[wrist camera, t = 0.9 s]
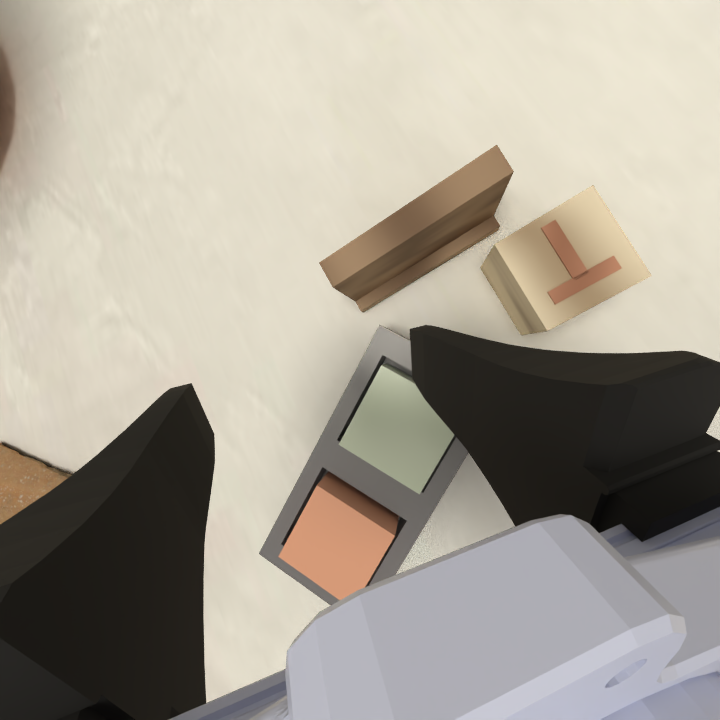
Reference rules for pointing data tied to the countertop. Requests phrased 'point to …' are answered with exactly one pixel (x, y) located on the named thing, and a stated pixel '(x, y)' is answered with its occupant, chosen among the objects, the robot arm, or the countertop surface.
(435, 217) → the screen
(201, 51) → the countertop surface
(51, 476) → the stone
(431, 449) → the cap sage
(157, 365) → the countertop surface
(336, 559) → the cap terracotta
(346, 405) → the button panel
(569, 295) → the cube
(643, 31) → the countertop surface
